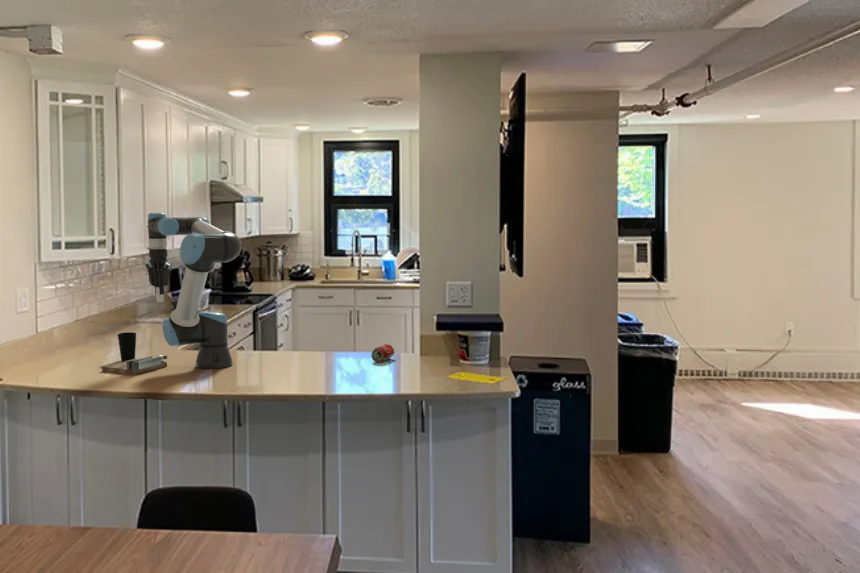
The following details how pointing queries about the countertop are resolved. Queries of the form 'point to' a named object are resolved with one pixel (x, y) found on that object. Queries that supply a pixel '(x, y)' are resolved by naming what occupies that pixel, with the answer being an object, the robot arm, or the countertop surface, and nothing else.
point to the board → (123, 369)
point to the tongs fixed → (148, 362)
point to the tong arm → (129, 363)
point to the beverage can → (382, 353)
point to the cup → (127, 345)
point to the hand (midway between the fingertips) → (160, 301)
